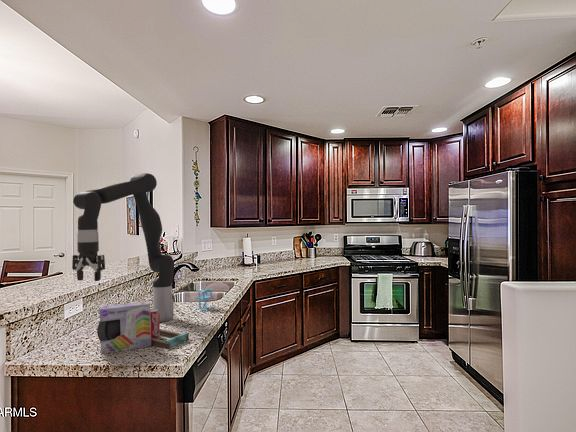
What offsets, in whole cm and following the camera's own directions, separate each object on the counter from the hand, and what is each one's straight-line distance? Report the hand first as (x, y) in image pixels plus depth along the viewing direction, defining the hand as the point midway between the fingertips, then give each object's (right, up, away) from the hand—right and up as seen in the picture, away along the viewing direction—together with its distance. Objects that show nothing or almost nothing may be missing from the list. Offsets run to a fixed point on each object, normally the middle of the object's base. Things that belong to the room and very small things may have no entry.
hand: (88, 280), depth 141 cm
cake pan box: (+17, -27, -4) cm, 32 cm away
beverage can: (+23, -27, +8) cm, 36 cm away
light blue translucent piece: (+34, -27, +57) cm, 72 cm away
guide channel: (+27, -26, +5) cm, 38 cm away
